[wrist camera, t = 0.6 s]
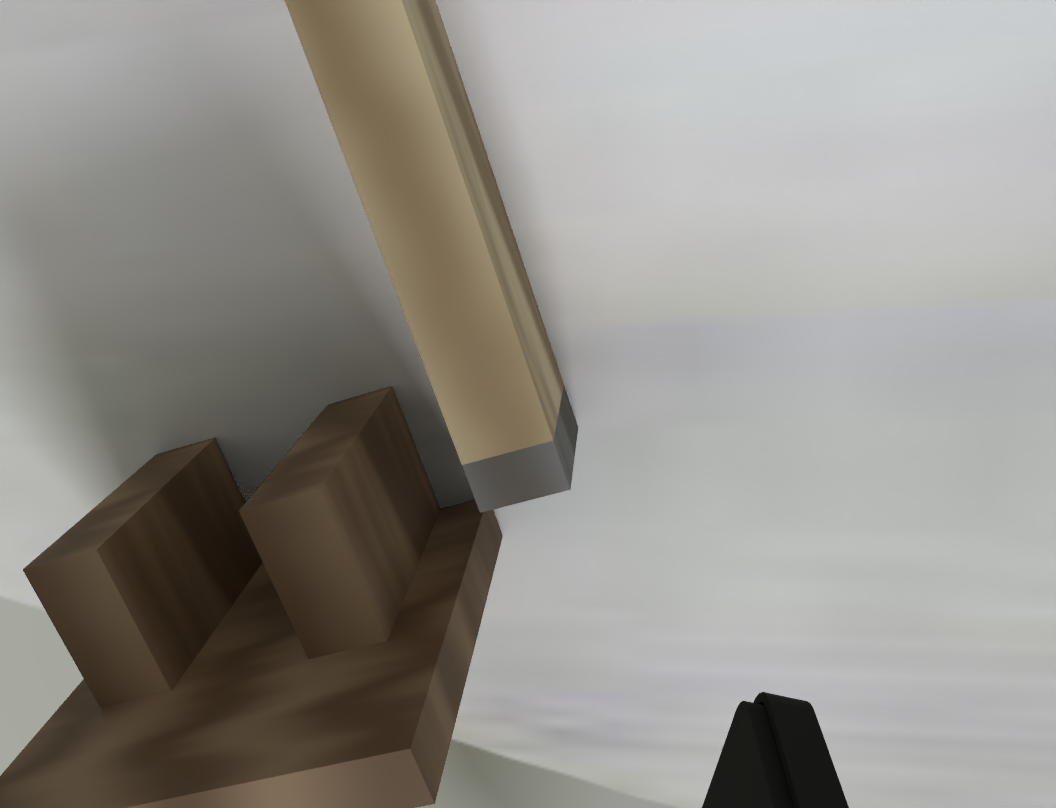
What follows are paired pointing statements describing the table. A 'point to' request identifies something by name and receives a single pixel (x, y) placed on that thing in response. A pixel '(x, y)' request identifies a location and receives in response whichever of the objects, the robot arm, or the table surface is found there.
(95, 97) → the table surface
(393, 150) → the bed rail
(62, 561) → the wooden slotted stand
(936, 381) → the table surface
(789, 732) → the robot arm
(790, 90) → the table surface
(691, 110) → the table surface
